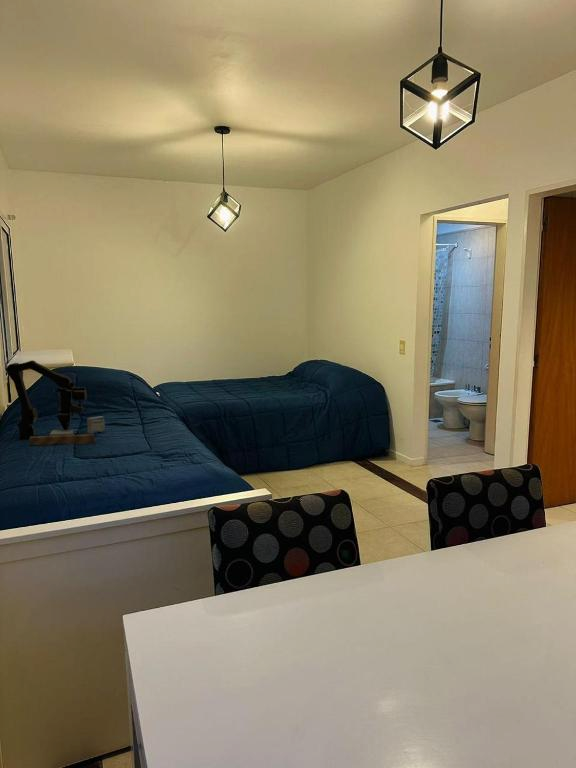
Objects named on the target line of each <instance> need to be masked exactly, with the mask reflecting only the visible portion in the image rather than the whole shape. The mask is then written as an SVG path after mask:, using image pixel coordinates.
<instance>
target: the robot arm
mask: <svg viewBox="0 0 576 768" xmlns="http://www.w3.org/2000/svg"><path fill="white" fill-rule="evenodd" d="M26 370H32V371H34V372H36V373H38V374H40V375H42V376H43V377H46V378H48V379H49V380H51V381H52V382H53V383H54V384H56V385H57V388H56V390H54V392H55V393H59V409H60V410H59V413H58V414H57V416H56V417H57V420H58V421H59V423H60V425H61V427H62V430H68V428H70V425H71V420H72V417H73V416H74V415H75V414H76V413H77V414H79V415H82V413H83V411H84V409H85V407H84V406H83V405H82V403H80V402H79V403H77V404H75V403H74V401H86V400H87V399H88V392H87V389H86V386H81V387H77V386H76V385H75V384H74V383H73V382H72V381H73V380H72V378H71V377H70V376H69V375H65V374H62V373H59V372H57V371H54V370H52V369H49V368H48V367H46V366H44V365H43V364H40V363H39V362H37V361H36V360H29V361H26V362H22V363H18V362H13V363H10V364H8V366H7V367H6V372H7V374H8V376H9V378H10V379H11V380H12V382H13V384H14V387H15V390H16V393H17V396H18V400H19V403H20V407H21V420H20V421H19V422H18V423H17V426H18V430H19V435H18V436H19V437H18V440H27V439H29V440H30V437H33V436H35V435H36V432H35V427H34V422H36V421H37V420H38V416H39V413H38V412H37V407H33V406H32V405H31V401H30V398H29V395H28V394H29V393H28V391H27V389H26V384H25V382H24V371H26ZM72 399H73V400H74V401H72Z"/></svg>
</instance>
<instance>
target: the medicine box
mask: <svg viewBox="0 0 576 768" xmlns="http://www.w3.org/2000/svg"><path fill="white" fill-rule="evenodd" d="M86 419H87V434H89V433H90V434H94V433H97V434H99V433H98V432H102V431H105V430H106V428H105V425H106V424H105V416H103V415H102V416H101V415H98V416H92V417H87V418H86ZM105 432H106V431H105ZM102 433H103V432H102Z"/></svg>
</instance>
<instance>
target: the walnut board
mask: <svg viewBox="0 0 576 768" xmlns="http://www.w3.org/2000/svg"><path fill="white" fill-rule="evenodd" d="M95 435H96V434H89V433H87V434H74V435H59V436H50V435H40V436H39V435H37V436H33V437H30V439H29V446H30V445H39V446H48V445H47V444H63V445H80V444H81V445H83V444H87V445H88V444H95V442H96V441H95V437H96V436H95Z"/></svg>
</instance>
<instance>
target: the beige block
mask: <svg viewBox="0 0 576 768" xmlns="http://www.w3.org/2000/svg"><path fill="white" fill-rule="evenodd" d="M59 435H75V434H74V429H67V430H64V429H52V431H50V434H49V436H59Z"/></svg>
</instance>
